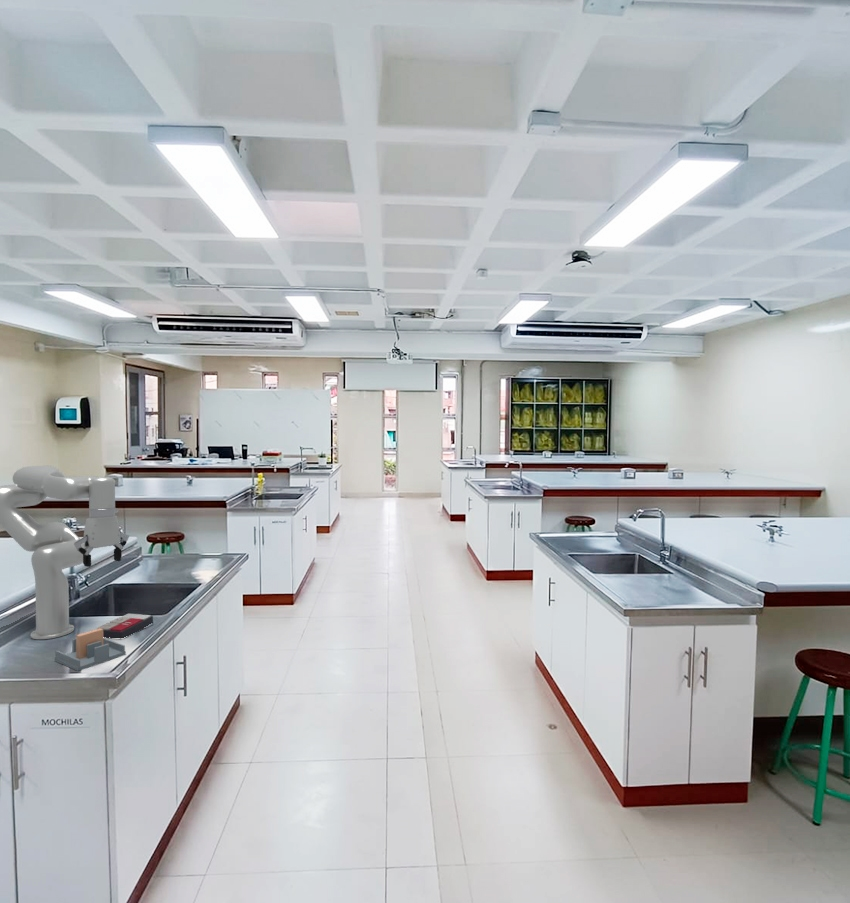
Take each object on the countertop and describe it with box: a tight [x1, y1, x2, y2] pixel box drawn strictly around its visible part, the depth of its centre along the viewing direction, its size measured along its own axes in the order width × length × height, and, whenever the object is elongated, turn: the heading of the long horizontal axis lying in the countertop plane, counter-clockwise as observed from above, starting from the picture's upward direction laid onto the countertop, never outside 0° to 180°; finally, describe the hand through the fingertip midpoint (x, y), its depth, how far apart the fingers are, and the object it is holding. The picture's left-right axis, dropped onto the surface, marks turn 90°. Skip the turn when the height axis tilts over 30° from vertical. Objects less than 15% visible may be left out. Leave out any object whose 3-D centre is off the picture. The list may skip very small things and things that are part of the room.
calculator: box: [97, 613, 154, 639], centre depth 186 cm, size 11×4×15 cm
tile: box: [75, 628, 103, 659], centre depth 162 cm, size 2×7×7 cm, turn 149°
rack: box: [54, 638, 127, 672], centre depth 162 cm, size 14×14×5 cm
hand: (102, 563), depth 177 cm, fingers open, 9 cm apart
